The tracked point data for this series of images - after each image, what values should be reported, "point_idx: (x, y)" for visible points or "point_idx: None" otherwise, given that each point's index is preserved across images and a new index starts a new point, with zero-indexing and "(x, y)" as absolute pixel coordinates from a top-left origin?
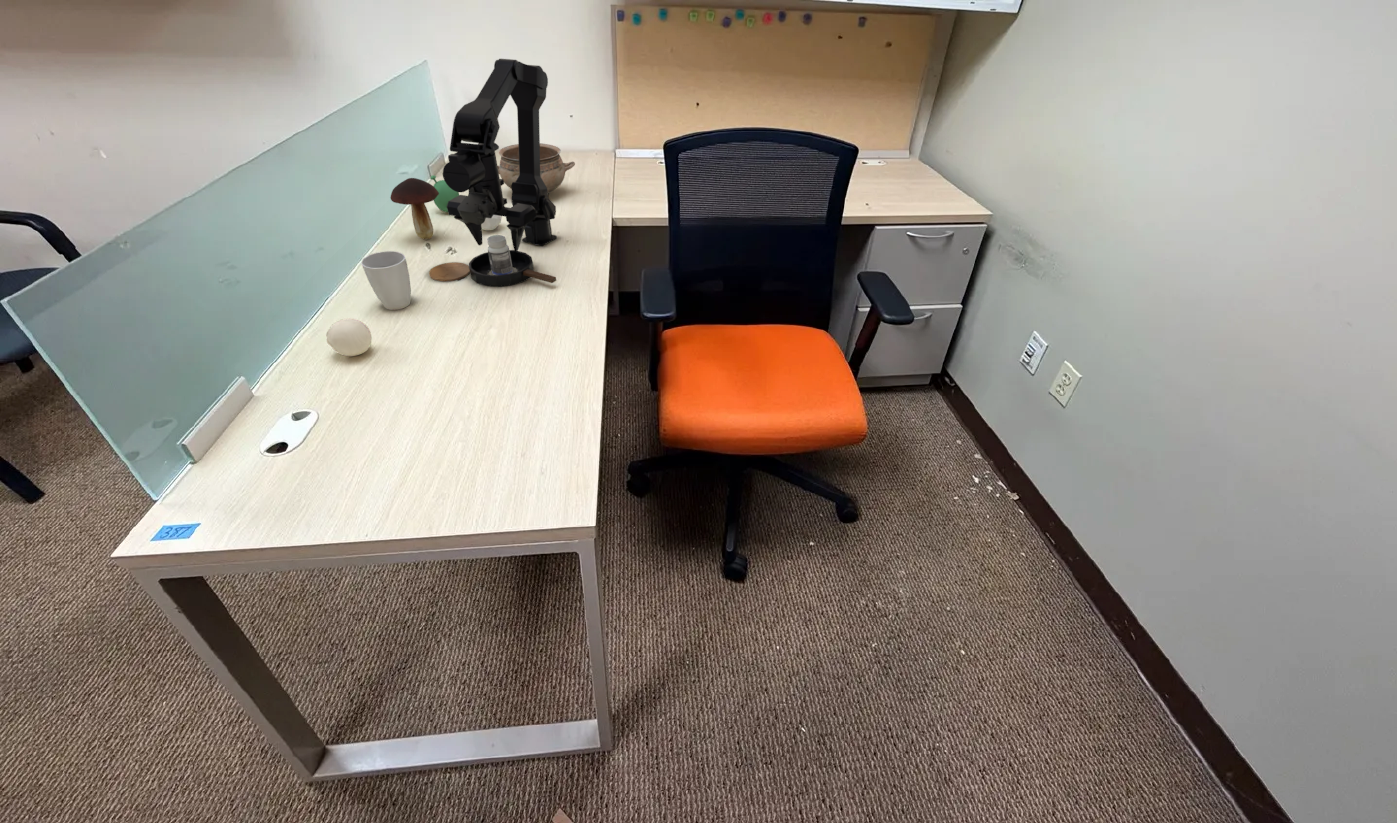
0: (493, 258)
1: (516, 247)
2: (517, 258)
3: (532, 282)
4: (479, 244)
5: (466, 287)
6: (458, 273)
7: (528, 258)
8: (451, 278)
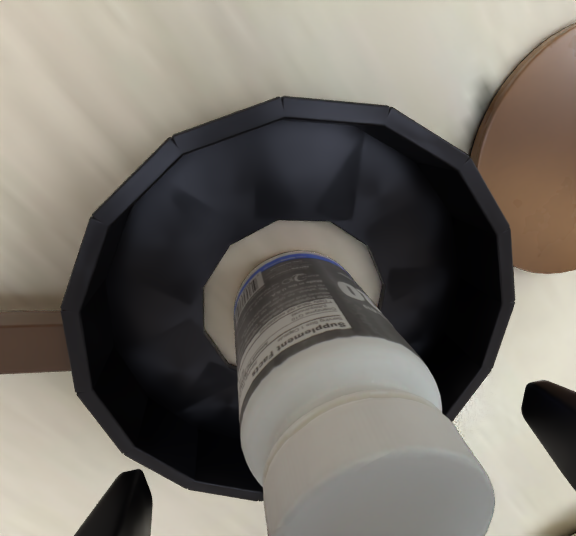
0: (324, 308)
1: (88, 522)
2: None
3: (33, 300)
4: (536, 386)
5: (385, 13)
6: (526, 152)
7: (208, 470)
8: (539, 61)
